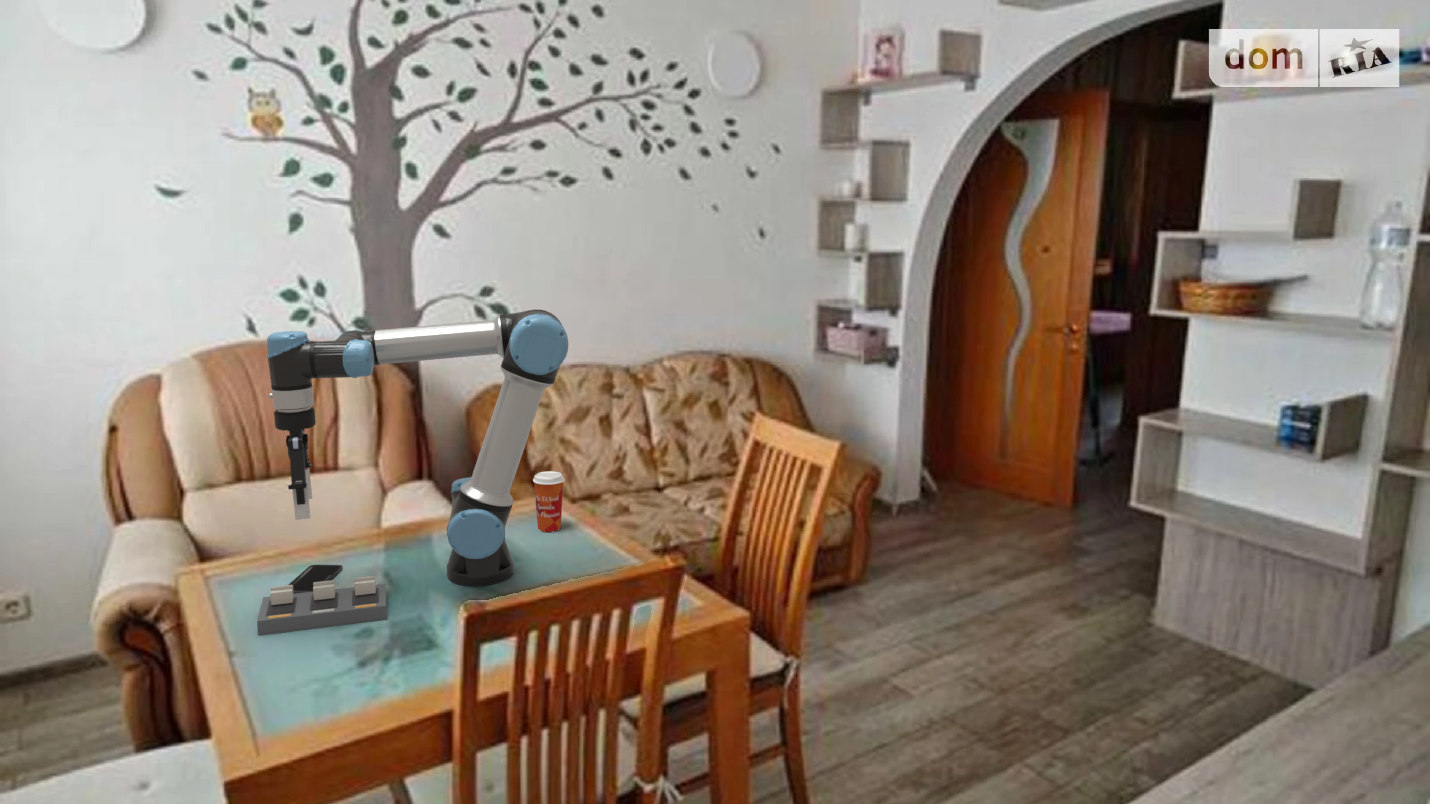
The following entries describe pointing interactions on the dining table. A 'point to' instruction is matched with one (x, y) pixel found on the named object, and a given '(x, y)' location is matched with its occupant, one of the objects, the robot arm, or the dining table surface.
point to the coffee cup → (548, 500)
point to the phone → (314, 577)
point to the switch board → (322, 611)
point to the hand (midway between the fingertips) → (304, 508)
